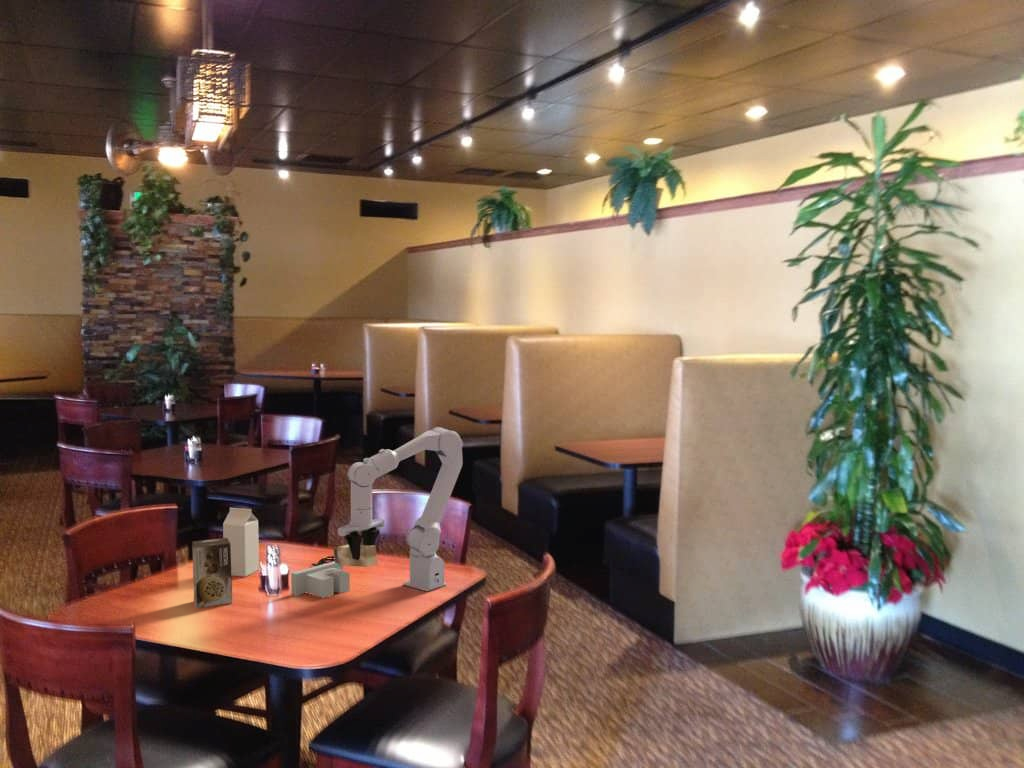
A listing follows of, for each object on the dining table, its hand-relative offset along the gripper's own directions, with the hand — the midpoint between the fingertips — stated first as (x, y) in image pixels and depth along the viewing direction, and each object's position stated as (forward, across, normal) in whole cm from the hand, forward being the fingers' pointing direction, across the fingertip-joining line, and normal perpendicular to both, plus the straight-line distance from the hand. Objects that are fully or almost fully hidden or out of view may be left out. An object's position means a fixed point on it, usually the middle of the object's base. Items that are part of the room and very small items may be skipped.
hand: (361, 557), depth 236 cm
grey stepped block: (+10, +5, -8) cm, 14 cm away
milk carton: (+10, +10, -41) cm, 44 cm away
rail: (+3, 0, -3) cm, 4 cm away
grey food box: (+10, +30, -24) cm, 40 cm away
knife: (+11, -6, -26) cm, 29 cm away
